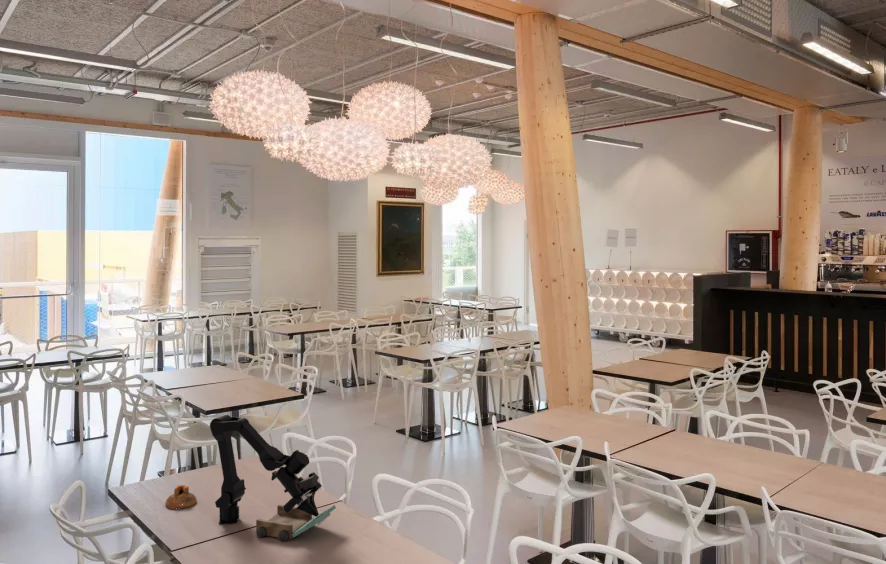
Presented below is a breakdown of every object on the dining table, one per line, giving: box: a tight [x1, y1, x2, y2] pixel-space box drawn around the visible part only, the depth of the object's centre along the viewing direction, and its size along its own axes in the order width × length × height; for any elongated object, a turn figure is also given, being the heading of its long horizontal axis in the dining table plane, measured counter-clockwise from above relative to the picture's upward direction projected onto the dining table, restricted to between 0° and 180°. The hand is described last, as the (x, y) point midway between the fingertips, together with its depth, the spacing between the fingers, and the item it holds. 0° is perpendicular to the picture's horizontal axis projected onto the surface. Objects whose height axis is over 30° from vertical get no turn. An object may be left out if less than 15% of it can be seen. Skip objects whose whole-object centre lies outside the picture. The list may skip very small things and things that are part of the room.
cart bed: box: [255, 504, 313, 542], centre depth 240 cm, size 14×17×6 cm
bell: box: [164, 484, 198, 510], centre depth 263 cm, size 12×12×7 cm
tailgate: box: [292, 505, 337, 539], centre depth 236 cm, size 2×15×11 cm
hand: (317, 515), depth 236 cm, fingers closed
